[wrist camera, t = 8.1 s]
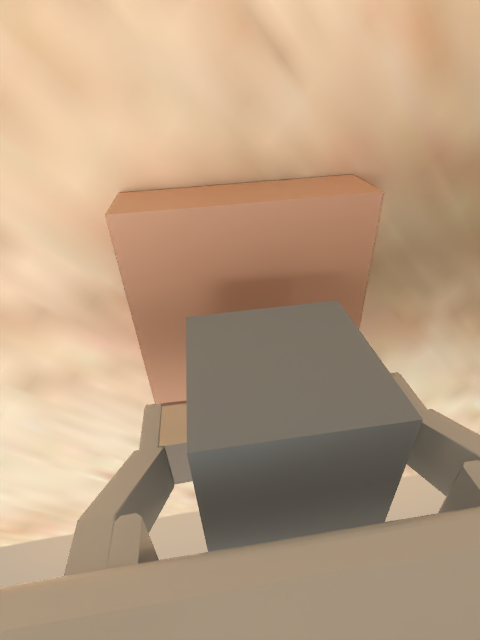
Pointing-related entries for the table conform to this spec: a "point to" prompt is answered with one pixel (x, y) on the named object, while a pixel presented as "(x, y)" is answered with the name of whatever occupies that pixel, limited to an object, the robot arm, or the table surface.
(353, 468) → the cube
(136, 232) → the pedestal
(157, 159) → the table surface
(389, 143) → the table surface
